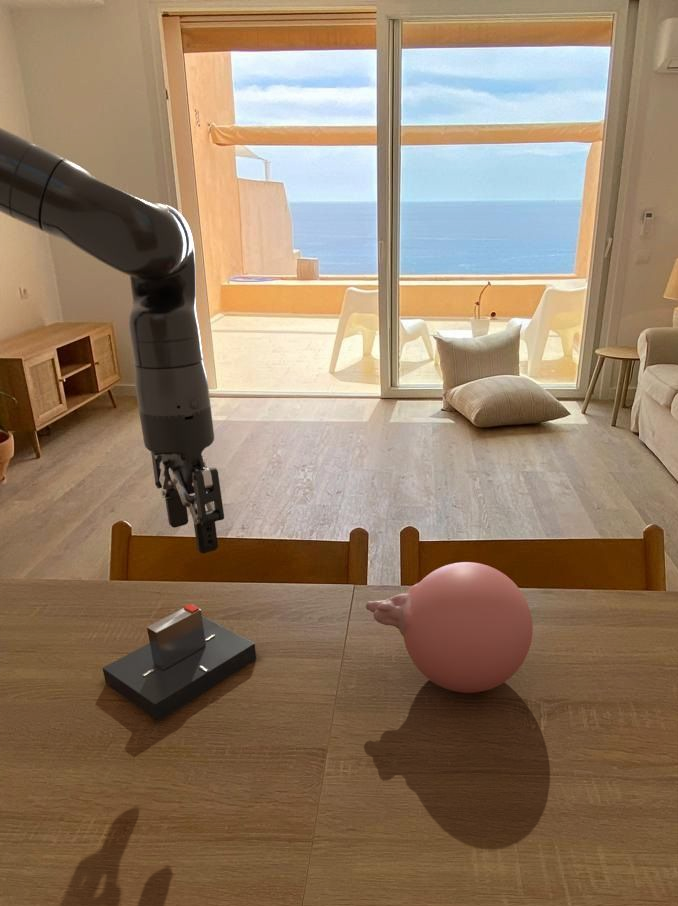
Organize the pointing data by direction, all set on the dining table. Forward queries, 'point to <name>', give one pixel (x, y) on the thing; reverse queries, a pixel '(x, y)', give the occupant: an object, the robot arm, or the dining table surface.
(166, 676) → the base
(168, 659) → the tap handle
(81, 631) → the dining table surface
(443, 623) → the balloon
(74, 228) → the robot arm
